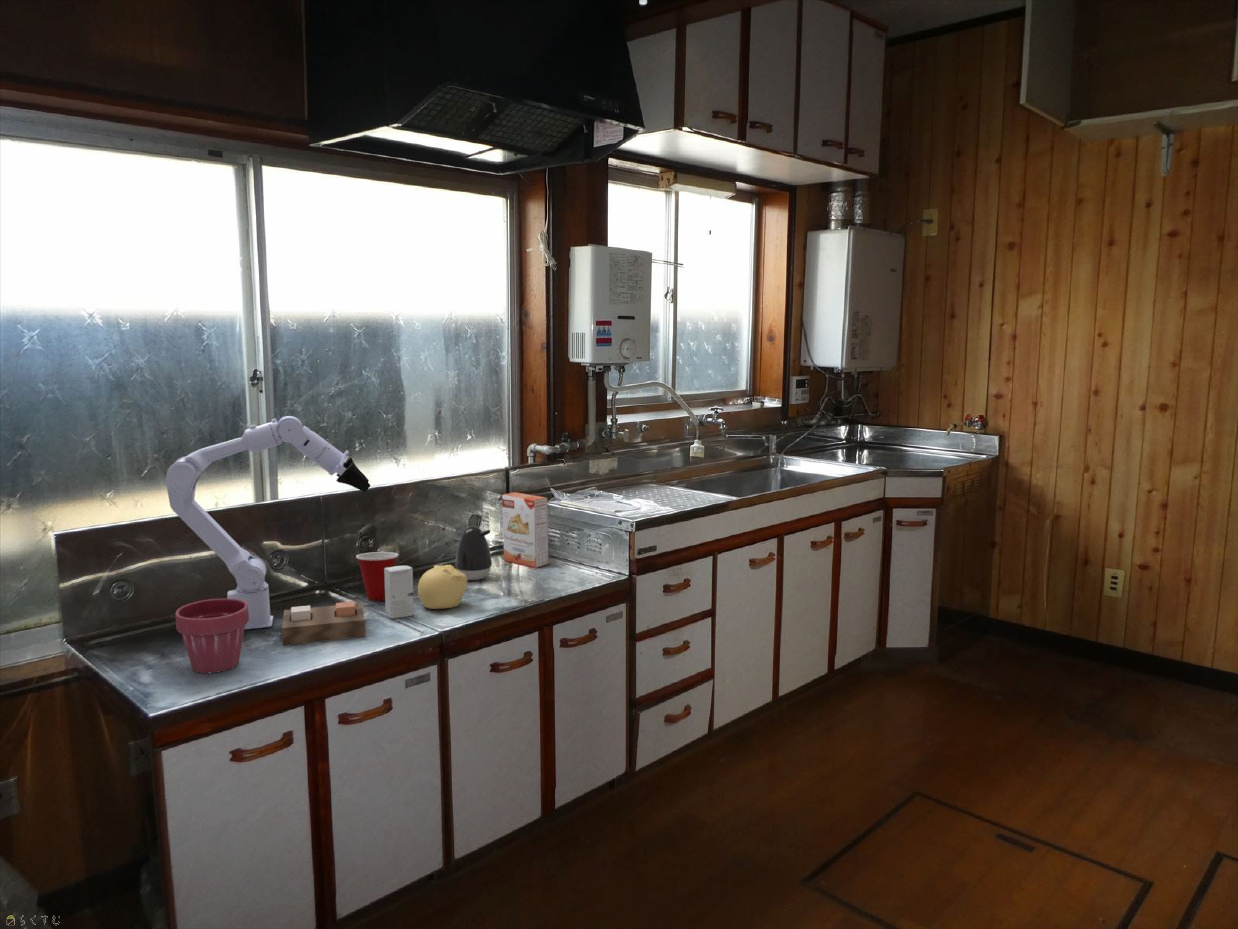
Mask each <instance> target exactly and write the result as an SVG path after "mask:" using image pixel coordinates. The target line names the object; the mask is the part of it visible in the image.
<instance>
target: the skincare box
mask: <svg viewBox="0 0 1238 929" xmlns="http://www.w3.org/2000/svg"><path fill="white" fill-rule="evenodd" d="M384 572H385V600H384V602H385V605H384V606H385V615H386V617H388V618H389V619H390V620H392V619H400V618H405V617H411V616H414V614H415V610H414V608H415V607H414V576H413V574H414V573H413V572H414V571H413V567H412V566H409V565H407V564H406V565H395V566H394V567H388V568H384Z"/></svg>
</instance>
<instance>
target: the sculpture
mask: <svg viewBox="0 0 1238 929" xmlns="http://www.w3.org/2000/svg"><path fill="white" fill-rule="evenodd" d="M467 583H468V580H467V577H466V575H465V574H463V573H461V572H460V571H459V570H457V568H456V567H454V566H453V565H451V564H445V565H442V564H441V565H435V564H434V566H433V568H431V569H428V570H426V571H425V572H424V573H423V574H422V576H421V577H420V578H419V581H418V584H417V595H418V597H419V600H420V603H422V605H423V606H424V607H425V608H427V609H430V610H431V609H432V610H433V609H434V610H440V609H451V608H456V607H457V606H458V605H459V604H460V603H461V601H462V599H463V597H464V595H465V592H467V588H468V584H467Z"/></svg>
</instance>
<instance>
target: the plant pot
mask: <svg viewBox="0 0 1238 929" xmlns="http://www.w3.org/2000/svg"><path fill="white" fill-rule="evenodd" d="M248 621H249V612H248V604H247V603H246V602H245V601H242V600H238V599H227V598H211V599H202V600H198V601H195V602H191V603H188V604H185V605H182V606H180V607H179V608H177V610H176V611H175V628H176V629H175V630H176V631H177V632H178V633H180V634H181V637H182V640H183V643H184V647H185V649H186V653H187V656H188V658H189V662H190V666H191V668H192V670H193V672H195V671H196V673H198V672H200V673H199V674H212V673H211V672H217V673H219V672H218V671H222V672H225V671H224V670H226V671H228V670H227V669H229V670H231V669H230V668H232V667H234V668H235V667H236V665H237V664H238V665H239V663H240V657H241V652H242V646H243V639H244V633H245V629H244V627H245V625H246V624H247V623H248ZM238 665H237V666H238ZM232 669H233V668H232ZM209 672H210V673H209Z"/></svg>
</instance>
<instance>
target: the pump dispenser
mask: <svg viewBox="0 0 1238 929" xmlns="http://www.w3.org/2000/svg"><path fill="white" fill-rule="evenodd" d="M488 534H491V530H490V529H487V530H482V529H481V528H480V527H479V526H475V525H469V526H467V527H466V528H465V530H463V531H462V534H461V536H460V538H459V542H458V545H457V549H456V555H455V569H457V570H459V571H460V572H461V573H463V574H465V575H466V577H467V581H470V580H475V581H481V580H483V579H485V578H486V577H487V576H488V574H489V573H490V571H491V567H492V565H493V562H492V554H491V550H490V546H489V544H488V541H487V538H486V536H487V535H488ZM480 579H481V580H480Z"/></svg>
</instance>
